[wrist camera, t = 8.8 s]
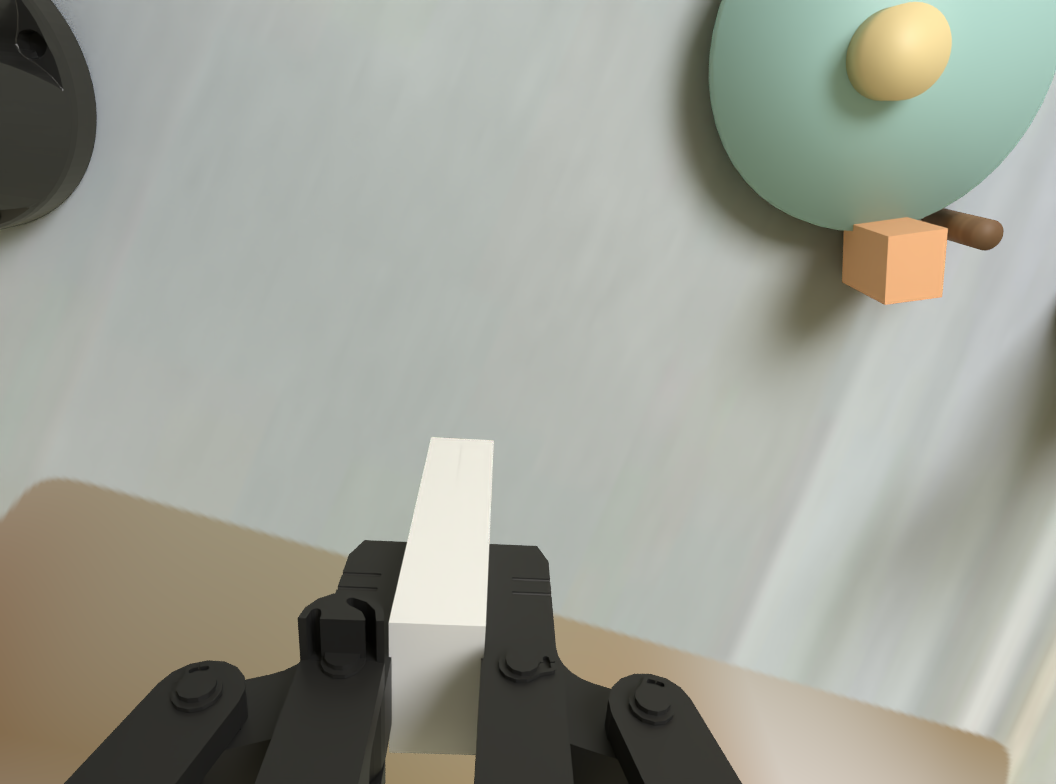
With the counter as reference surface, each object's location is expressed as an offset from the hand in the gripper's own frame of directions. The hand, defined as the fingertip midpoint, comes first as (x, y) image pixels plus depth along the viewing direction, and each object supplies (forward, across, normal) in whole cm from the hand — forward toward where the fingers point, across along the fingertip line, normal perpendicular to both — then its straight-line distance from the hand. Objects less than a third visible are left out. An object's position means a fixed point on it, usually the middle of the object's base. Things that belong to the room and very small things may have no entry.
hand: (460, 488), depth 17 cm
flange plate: (+26, +20, +11) cm, 35 cm away
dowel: (+27, +26, +4) cm, 38 cm away
